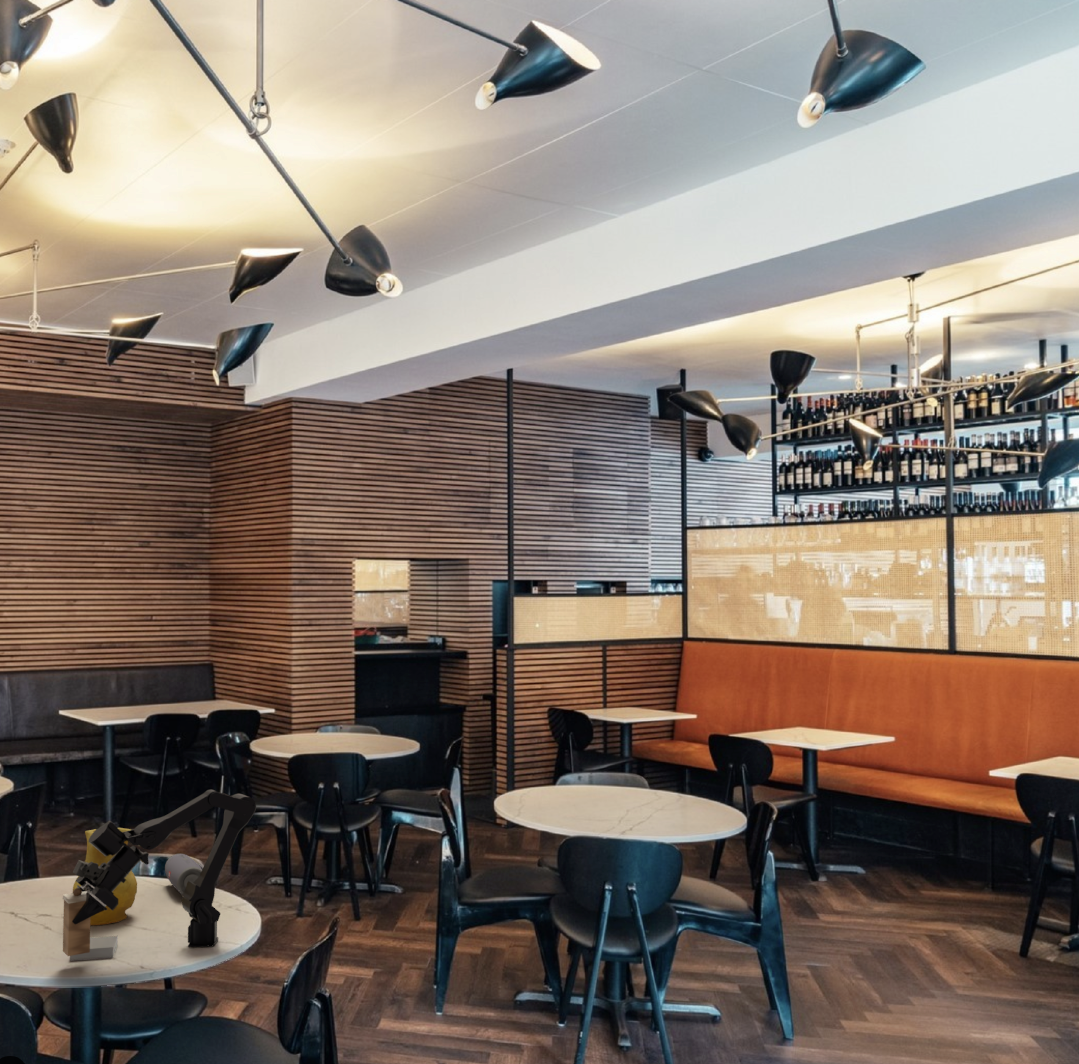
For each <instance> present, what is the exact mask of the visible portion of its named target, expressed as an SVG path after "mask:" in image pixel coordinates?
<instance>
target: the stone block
mask: <svg viewBox="0 0 1079 1064" xmlns="http://www.w3.org/2000/svg"><path fill="white" fill-rule="evenodd" d="M118 939H119V938H118V935H108V936H106V935H105V936H104V935H103V936H95V937H94V936H92V937H91V936H90V952H89V953H83V954H78V955H72V956H69V961H71V962H73V961H85V960H87V961H88V960H97V959H111V958H112V959H113V958H114V956H115V953H116V950H117V948H118Z"/></svg>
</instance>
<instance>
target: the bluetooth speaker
mask: <svg viewBox="0 0 1079 1064" xmlns="http://www.w3.org/2000/svg"><path fill="white" fill-rule="evenodd" d="M202 869H203V868H202V867H201V866H200V865H199V863H197V861H195V860H194V859H193V858H192V857H191V856H189V855H187V854H184V853H176V854H172V855H171V856H170V857H169V858H168V859H167V860H166V862H165V865H164V872H165V876H166V878H167V879H168V881H169V882H170V884H171V885H172V887H173V888H175V889H176V891H177V892H178V893H179V894H180V895H182V894H183V892H184V891H185V889H186V886H187V883H188V881H190V882H192V883H193V882H194V881H195V880H196V879H197V878H198V877H199V876H200V874H201V872H202Z"/></svg>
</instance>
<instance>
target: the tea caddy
mask: <svg viewBox="0 0 1079 1064" xmlns="http://www.w3.org/2000/svg"><path fill="white" fill-rule="evenodd" d="M86 895H87V891H84V892H82V890H81V889H80V888H76V889H74V891H73V890H72V893H64V894H62V900H63V920H62V922H63V923H62V924H63V925H62V927H63V929H62V952H63V953H64V954H65V955H66V956H67V957H70V956H72V955H78V954H83V953H89V952H90V937H91V925H90V917H89V918H87V919H85V920H83V921H82V922H80V923H78V924H74V923H73V922H72V921H73V919H74V918H75V916H76V915H77V914H78V912H79V911H80V909H81V908H82V907H83V905H84V904H85V902H86ZM91 896H92V895H91Z"/></svg>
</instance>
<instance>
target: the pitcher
mask: <svg viewBox="0 0 1079 1064" xmlns="http://www.w3.org/2000/svg"><path fill="white" fill-rule="evenodd" d="M117 828H118V829H119V830H120V831H121V832H125V831H129V830H131V828H130V829H129V828H123V827H117ZM96 829H97V828H95V829H91V830H90V829H89V830H85V831H84V834H85V838H86V855H85V860H84V862H87V863H90V862H93V863H97V864H98V866H100V865H101V864H102V863H104V862H105V863H106V864H107V863H108V862H109V861H110V860H111V858H112V857H113V856H114V855H113V856H111V855H109V856H104V855H103V854H102V853H101V852H100V851H99V850H97V849H96V848H95V847H94V846H93V845H92V844H90V843H89V838H90V836H91V835H92V834H93V832H94V831H95V830H96ZM124 843H125V844H126V845H128V844H129V842H127V841H125V842H124ZM128 846H129V845H128ZM76 877H77V878H78V877H79V876H76ZM77 878H76V879H77ZM125 879H126V881H125V882H124V883H122V882H121V883H120V884H119V885H118V886H117V887H116V888H115V889H114V891H113V893H114V896H116V897H117V898H118V905H117V906H116V908H115V909H114V910H113V911H112V910H111V909H110V908H109V907H108V906H106V908H107V910H104V911H102V912H100V913H98V914H95V915H93V916H91V917H90V926H104V925H109V924H114V923H119V922H121V921H123V920H126V919H127V918H128V915H127V913H126V911H127V910H129V909H131V907H133V904H134V902H135V901H136V896H137V892H138V881H137V878H136V876H135V873H134V872H133V869H132V870H131V871H130V873H129V874H128V875H127V876H126V877H125ZM77 885H79V886H81V885H80V884H79V883H77V882H76V880H75V881H74V883H73V886H72V892H73V891H74V889H76V888H77Z"/></svg>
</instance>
